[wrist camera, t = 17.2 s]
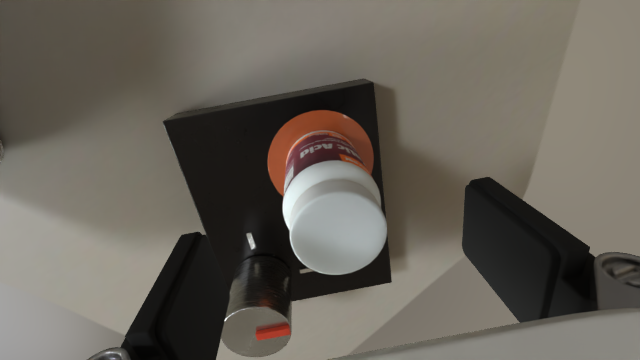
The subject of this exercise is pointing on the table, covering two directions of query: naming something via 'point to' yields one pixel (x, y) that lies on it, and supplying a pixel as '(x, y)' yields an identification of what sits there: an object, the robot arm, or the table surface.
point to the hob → (265, 179)
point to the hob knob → (259, 308)
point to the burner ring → (312, 123)
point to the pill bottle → (332, 205)
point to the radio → (1, 151)
